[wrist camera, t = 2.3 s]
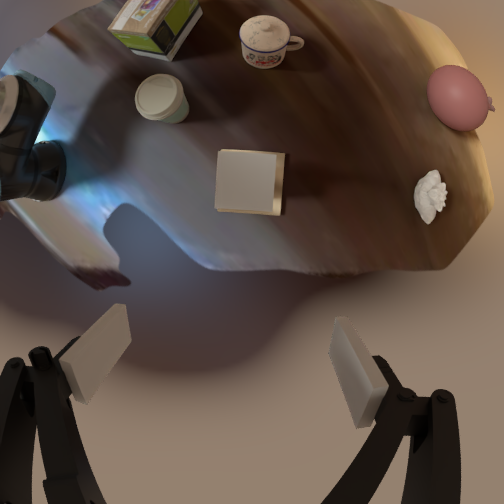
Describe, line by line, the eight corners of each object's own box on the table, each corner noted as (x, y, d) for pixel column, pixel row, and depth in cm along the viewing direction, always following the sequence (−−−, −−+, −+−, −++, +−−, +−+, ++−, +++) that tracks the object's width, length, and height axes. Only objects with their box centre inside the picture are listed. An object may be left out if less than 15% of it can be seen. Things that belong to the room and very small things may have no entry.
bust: (419, 169, 52) (416, 158, 43) (448, 176, 47) (451, 167, 39) (410, 219, 55) (406, 218, 46) (440, 227, 50) (441, 228, 42)
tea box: (167, 7, 41) (147, -26, 26) (204, 14, 41) (191, -23, 27) (134, 55, 44) (105, 28, 30) (171, 63, 45) (147, 33, 31)
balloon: (474, 144, 47) (514, 141, 32) (417, 126, 47) (459, 116, 32) (468, 90, 43) (505, 79, 28) (411, 68, 43) (446, 46, 28)
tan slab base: (279, 214, 53) (280, 215, 52) (218, 210, 53) (217, 211, 52) (284, 153, 50) (284, 153, 49) (221, 149, 50) (221, 149, 49)
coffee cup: (204, 112, 48) (190, 94, 36) (169, 138, 49) (147, 128, 38) (181, 84, 46) (163, 62, 35) (148, 109, 48) (123, 94, 36)
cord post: (263, 195, 51) (272, 211, 23) (236, 194, 51) (214, 208, 23) (265, 169, 50) (276, 154, 22) (238, 168, 50) (218, 151, 22)
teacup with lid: (241, 70, 46) (237, 45, 34) (241, 36, 43) (238, 7, 32) (300, 72, 45) (311, 47, 34) (298, 38, 43) (307, 10, 32)
